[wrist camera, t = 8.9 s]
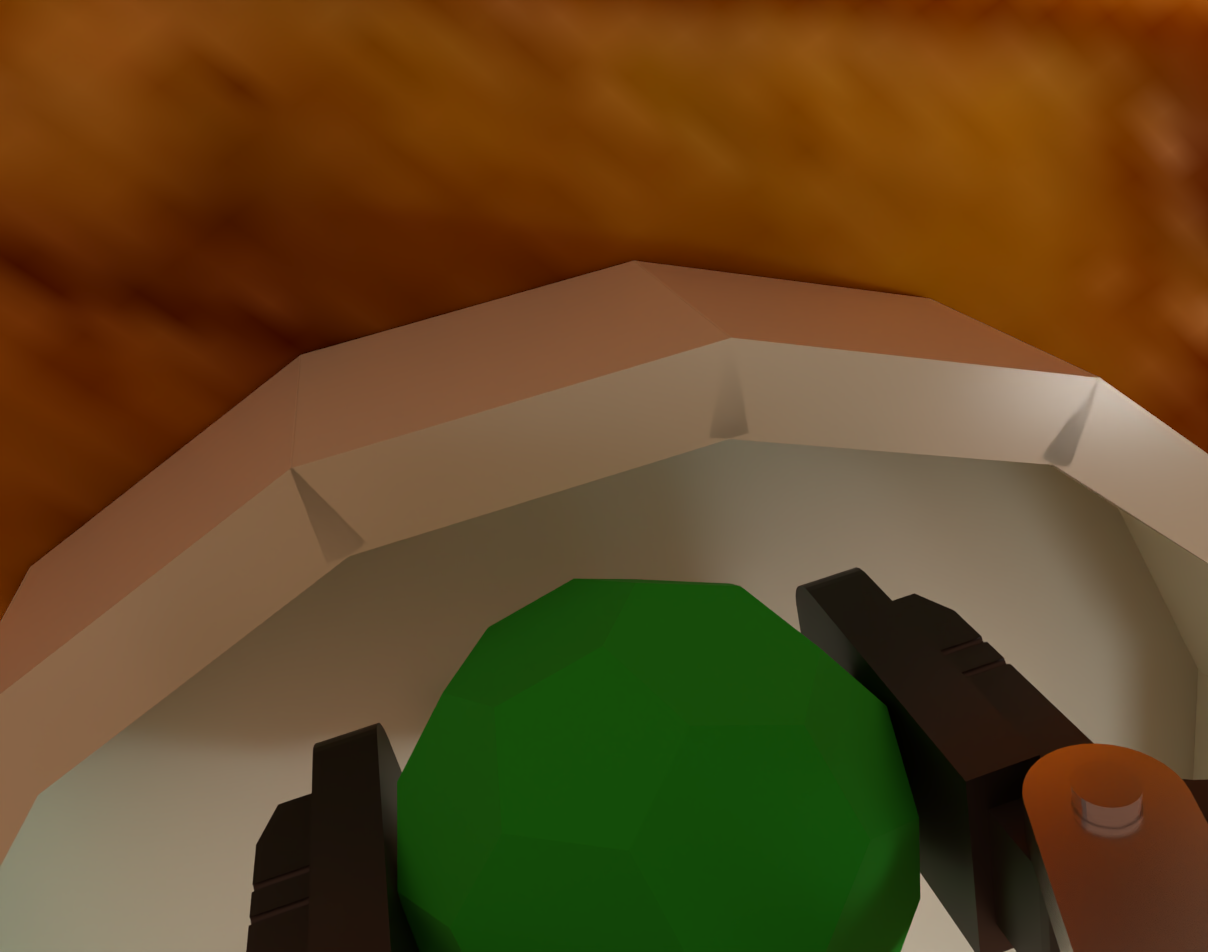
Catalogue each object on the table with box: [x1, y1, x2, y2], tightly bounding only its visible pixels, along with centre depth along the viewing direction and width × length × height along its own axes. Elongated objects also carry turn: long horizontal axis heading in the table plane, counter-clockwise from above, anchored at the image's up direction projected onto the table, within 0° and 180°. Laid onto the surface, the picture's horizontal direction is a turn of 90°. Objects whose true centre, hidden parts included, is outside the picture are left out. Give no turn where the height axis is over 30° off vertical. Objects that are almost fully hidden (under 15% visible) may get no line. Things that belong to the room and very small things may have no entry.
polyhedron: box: [397, 578, 921, 952], centre depth 10 cm, size 5×5×5 cm
